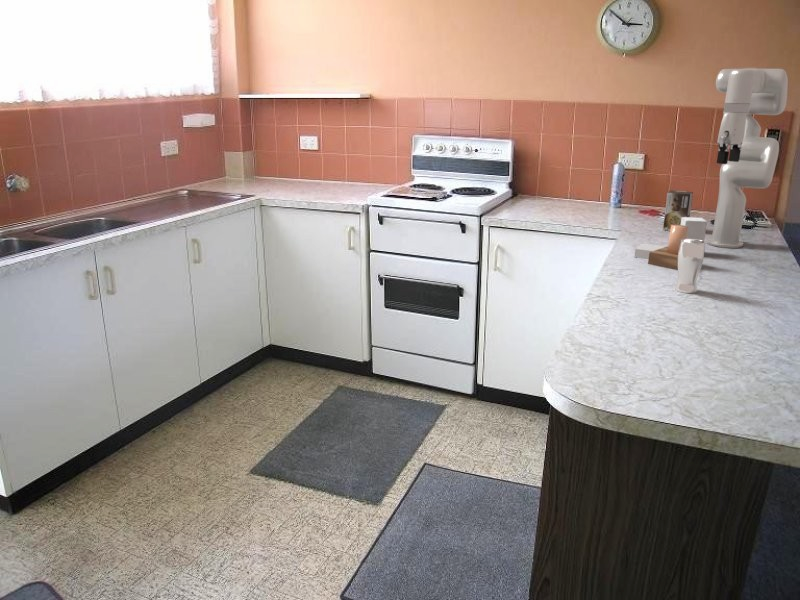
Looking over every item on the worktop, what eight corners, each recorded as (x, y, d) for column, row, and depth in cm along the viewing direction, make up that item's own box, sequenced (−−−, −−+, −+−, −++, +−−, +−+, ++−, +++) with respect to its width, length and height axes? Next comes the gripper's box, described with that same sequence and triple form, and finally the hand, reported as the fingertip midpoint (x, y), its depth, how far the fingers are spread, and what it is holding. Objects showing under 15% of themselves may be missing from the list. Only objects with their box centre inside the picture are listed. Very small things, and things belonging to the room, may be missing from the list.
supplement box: (702, 256, 236) (707, 221, 232) (680, 255, 237) (685, 220, 233) (697, 251, 243) (703, 217, 239) (676, 250, 244) (681, 216, 240)
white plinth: (640, 251, 242) (641, 243, 241) (669, 255, 237) (670, 246, 236) (634, 257, 234) (635, 248, 233) (664, 261, 229) (665, 252, 228)
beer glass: (697, 288, 200) (705, 239, 195) (699, 294, 193) (707, 244, 189) (672, 285, 202) (679, 237, 197) (673, 292, 195) (680, 242, 191)
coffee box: (688, 230, 277) (694, 191, 272) (685, 233, 272) (691, 193, 267) (665, 227, 282) (670, 189, 277) (662, 230, 276) (667, 191, 271)
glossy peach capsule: (670, 249, 228) (675, 224, 225) (685, 252, 224) (690, 226, 222) (664, 252, 224) (668, 225, 221) (679, 255, 221) (684, 228, 218)
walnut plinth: (664, 257, 234) (665, 246, 232) (698, 264, 225) (700, 253, 224) (647, 263, 226) (649, 252, 224) (682, 271, 217) (684, 259, 216)
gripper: (735, 108, 225) (726, 159, 230) (713, 109, 214) (705, 163, 219) (758, 109, 220) (749, 161, 225) (738, 110, 208) (728, 165, 214)
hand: (727, 162), depth 222 cm, fingers open, 9 cm apart
